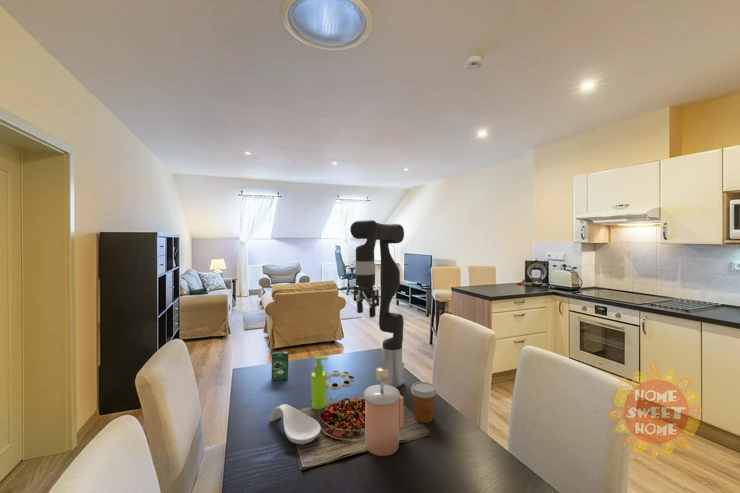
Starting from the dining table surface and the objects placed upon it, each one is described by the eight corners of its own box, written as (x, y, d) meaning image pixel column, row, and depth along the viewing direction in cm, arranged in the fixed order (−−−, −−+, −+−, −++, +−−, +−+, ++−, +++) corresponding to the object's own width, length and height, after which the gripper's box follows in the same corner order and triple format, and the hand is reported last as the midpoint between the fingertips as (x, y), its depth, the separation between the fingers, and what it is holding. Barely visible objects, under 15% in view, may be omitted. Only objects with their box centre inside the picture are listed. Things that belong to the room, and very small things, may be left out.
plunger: (383, 388, 106) (383, 366, 105) (390, 392, 102) (390, 370, 102) (373, 391, 103) (373, 368, 103) (380, 396, 100) (380, 373, 100)
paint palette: (306, 382, 150) (306, 378, 150) (336, 369, 165) (336, 365, 165) (334, 395, 138) (334, 390, 138) (363, 380, 153) (363, 376, 152)
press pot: (391, 427, 112) (391, 380, 112) (412, 445, 102) (412, 393, 102) (357, 441, 105) (357, 390, 104) (377, 461, 95) (377, 405, 95)
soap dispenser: (325, 410, 124) (325, 360, 124) (309, 408, 125) (308, 359, 125) (330, 403, 130) (330, 355, 130) (314, 401, 131) (314, 353, 131)
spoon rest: (327, 438, 107) (327, 417, 107) (299, 455, 98) (298, 433, 98) (287, 413, 123) (287, 395, 122) (259, 426, 114) (259, 407, 114)
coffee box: (288, 377, 155) (288, 350, 155) (288, 379, 152) (288, 352, 152) (271, 378, 153) (271, 352, 153) (271, 381, 151) (271, 354, 151)
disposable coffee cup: (437, 414, 121) (437, 383, 121) (434, 427, 112) (434, 394, 112) (413, 409, 124) (413, 379, 124) (408, 422, 115) (408, 390, 115)
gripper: (384, 273, 115) (385, 317, 116) (363, 270, 127) (364, 309, 128) (367, 275, 111) (368, 320, 112) (347, 271, 123) (348, 312, 124)
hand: (366, 314), depth 120 cm, fingers open, 8 cm apart
